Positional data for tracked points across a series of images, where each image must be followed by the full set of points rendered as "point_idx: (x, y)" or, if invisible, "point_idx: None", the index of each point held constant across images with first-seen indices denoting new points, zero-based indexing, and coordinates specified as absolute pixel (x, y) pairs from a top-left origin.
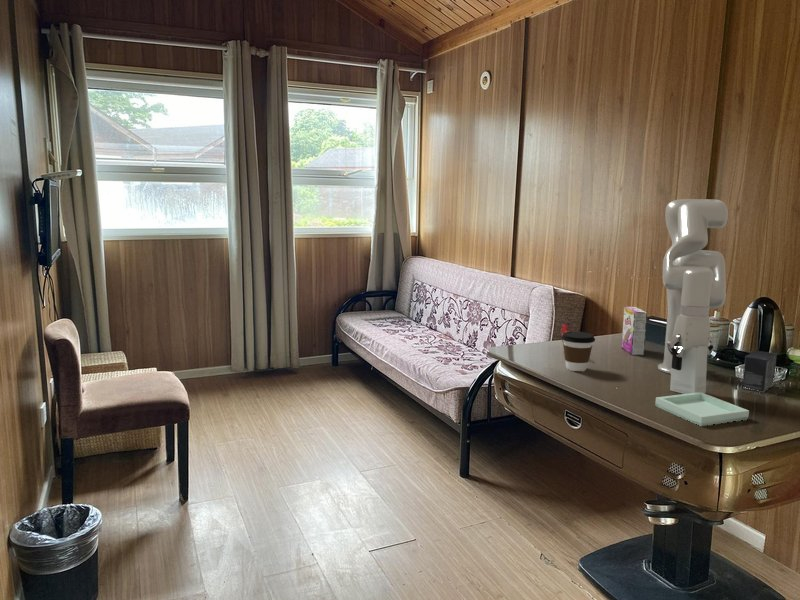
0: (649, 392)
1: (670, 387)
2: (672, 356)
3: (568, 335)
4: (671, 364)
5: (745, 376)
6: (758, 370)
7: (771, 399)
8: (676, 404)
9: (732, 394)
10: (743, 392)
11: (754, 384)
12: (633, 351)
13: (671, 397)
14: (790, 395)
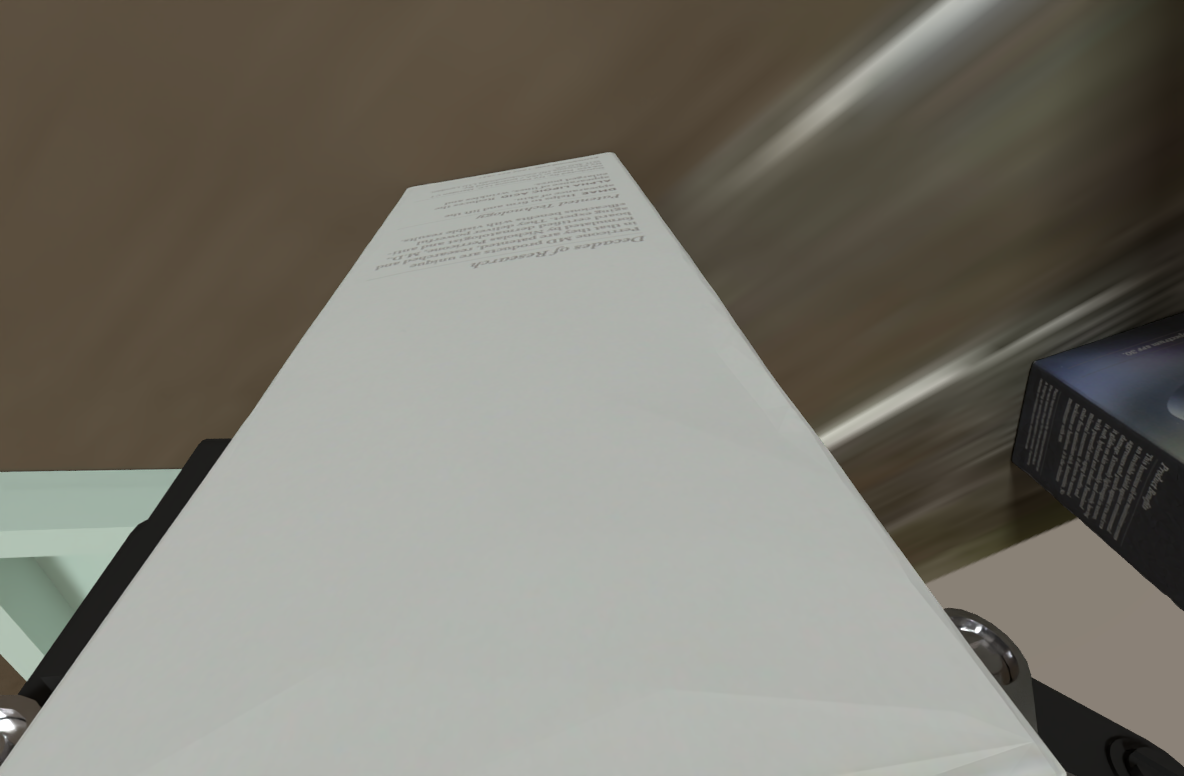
0: (78, 146)
1: (400, 199)
2: (72, 636)
3: None
4: (307, 334)
5: (1119, 437)
6: (1165, 555)
7: (899, 539)
8: (40, 652)
9: (817, 433)
10: (926, 424)
11: (1058, 451)
12: None
13: (82, 552)
14: (1057, 519)
